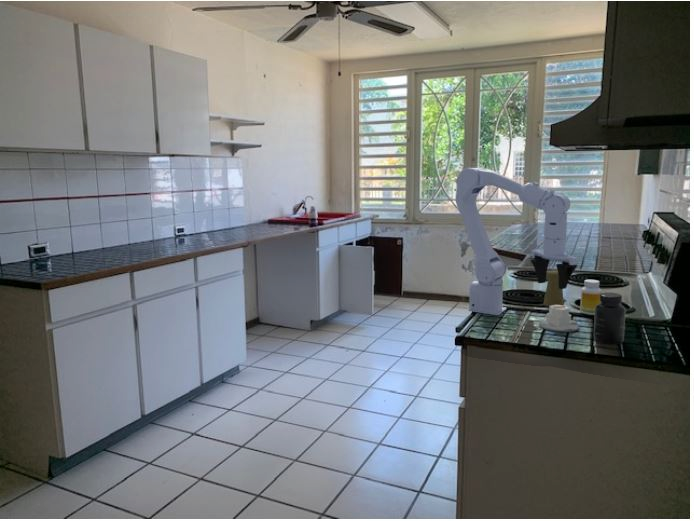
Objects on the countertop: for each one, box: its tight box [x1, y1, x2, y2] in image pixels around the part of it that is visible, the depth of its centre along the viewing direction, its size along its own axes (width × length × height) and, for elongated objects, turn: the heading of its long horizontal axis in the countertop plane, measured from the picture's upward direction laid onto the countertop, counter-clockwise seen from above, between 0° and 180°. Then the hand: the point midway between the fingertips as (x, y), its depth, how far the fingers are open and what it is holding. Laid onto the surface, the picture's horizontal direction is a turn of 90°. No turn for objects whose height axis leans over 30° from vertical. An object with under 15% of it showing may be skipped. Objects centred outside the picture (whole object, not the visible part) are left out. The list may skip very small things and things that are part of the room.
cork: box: [543, 270, 565, 308], centre depth 157 cm, size 6×6×11 cm
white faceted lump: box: [545, 304, 572, 326], centre depth 137 cm, size 5×4×5 cm
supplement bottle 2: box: [593, 292, 627, 345], centre depth 125 cm, size 7×7×12 cm
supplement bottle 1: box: [579, 279, 602, 316], centre depth 148 cm, size 5×5×10 cm
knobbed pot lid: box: [538, 317, 579, 333], centre depth 137 cm, size 10×10×3 cm
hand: (551, 285), depth 141 cm, fingers open, 7 cm apart
